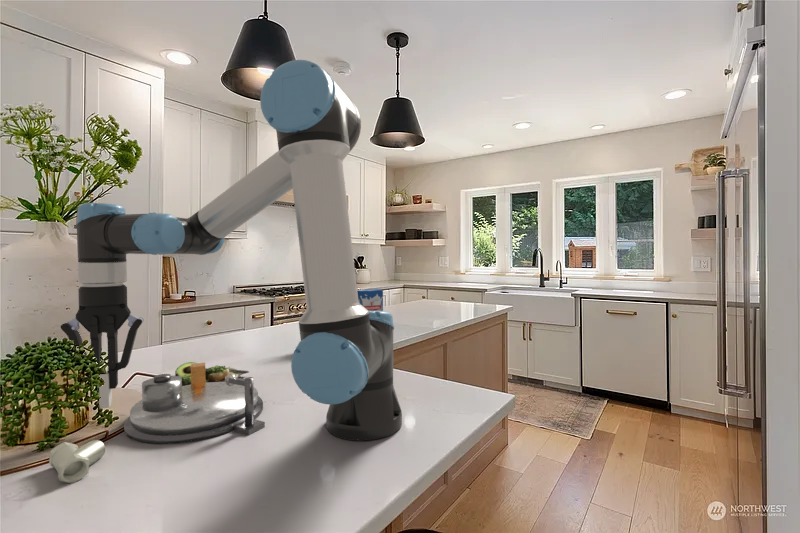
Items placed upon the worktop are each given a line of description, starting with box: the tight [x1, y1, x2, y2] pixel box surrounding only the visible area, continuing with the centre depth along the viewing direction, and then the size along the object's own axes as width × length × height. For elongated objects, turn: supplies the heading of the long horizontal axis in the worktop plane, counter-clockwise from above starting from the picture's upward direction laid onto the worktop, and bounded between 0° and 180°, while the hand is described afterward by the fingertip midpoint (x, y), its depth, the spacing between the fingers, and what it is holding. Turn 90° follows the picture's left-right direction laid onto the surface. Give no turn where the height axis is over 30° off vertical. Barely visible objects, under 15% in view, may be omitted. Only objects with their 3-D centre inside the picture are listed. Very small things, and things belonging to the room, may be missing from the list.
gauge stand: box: [225, 373, 266, 436], centre depth 79 cm, size 8×4×10 cm, turn 64°
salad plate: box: [174, 361, 250, 386], centre depth 108 cm, size 19×18×5 cm
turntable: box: [129, 362, 259, 435], centre depth 84 cm, size 24×24×7 cm
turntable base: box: [123, 395, 264, 445], centre depth 85 cm, size 26×26×1 cm
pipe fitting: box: [48, 439, 106, 484], centre depth 64 cm, size 8×4×7 cm
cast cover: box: [141, 373, 182, 412], centre depth 82 cm, size 7×7×6 cm
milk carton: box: [357, 288, 384, 311], centre depth 160 cm, size 10×6×20 cm, turn 119°
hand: (105, 405), depth 77 cm, fingers closed
